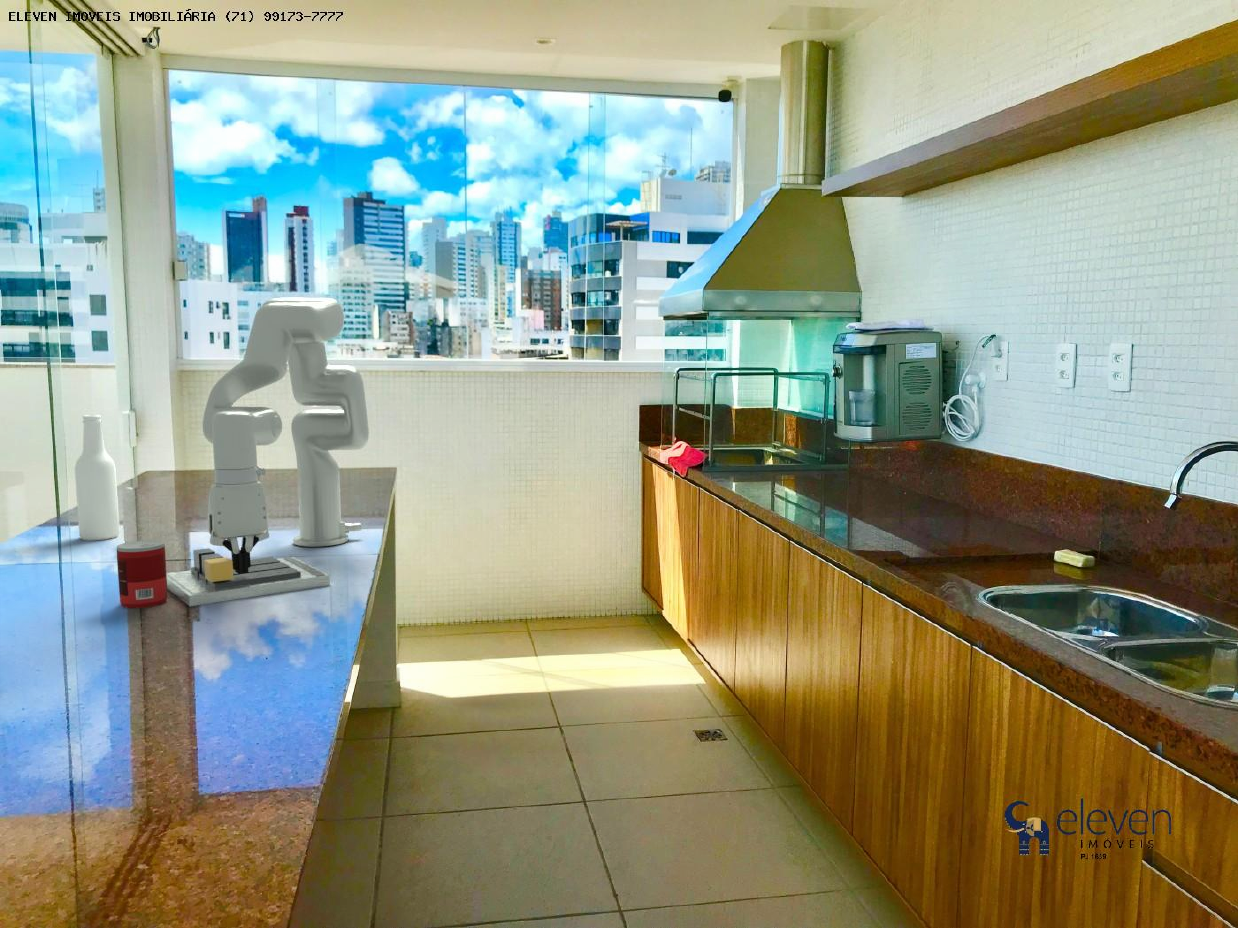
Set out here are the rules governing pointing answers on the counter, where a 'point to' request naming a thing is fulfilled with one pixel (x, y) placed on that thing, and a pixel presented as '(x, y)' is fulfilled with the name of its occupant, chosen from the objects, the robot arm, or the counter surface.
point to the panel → (244, 579)
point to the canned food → (142, 573)
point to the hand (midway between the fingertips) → (241, 572)
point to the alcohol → (96, 486)
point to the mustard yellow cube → (218, 569)
